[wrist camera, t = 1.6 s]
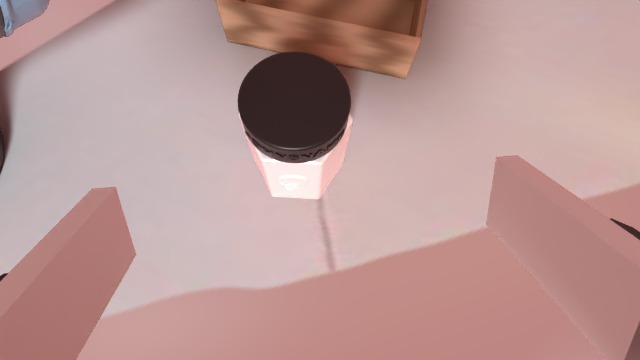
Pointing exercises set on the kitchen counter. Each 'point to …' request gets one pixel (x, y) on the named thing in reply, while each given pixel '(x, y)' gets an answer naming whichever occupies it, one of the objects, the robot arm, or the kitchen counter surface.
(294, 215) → the kitchen counter surface
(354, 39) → the open wooden box
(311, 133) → the jar
